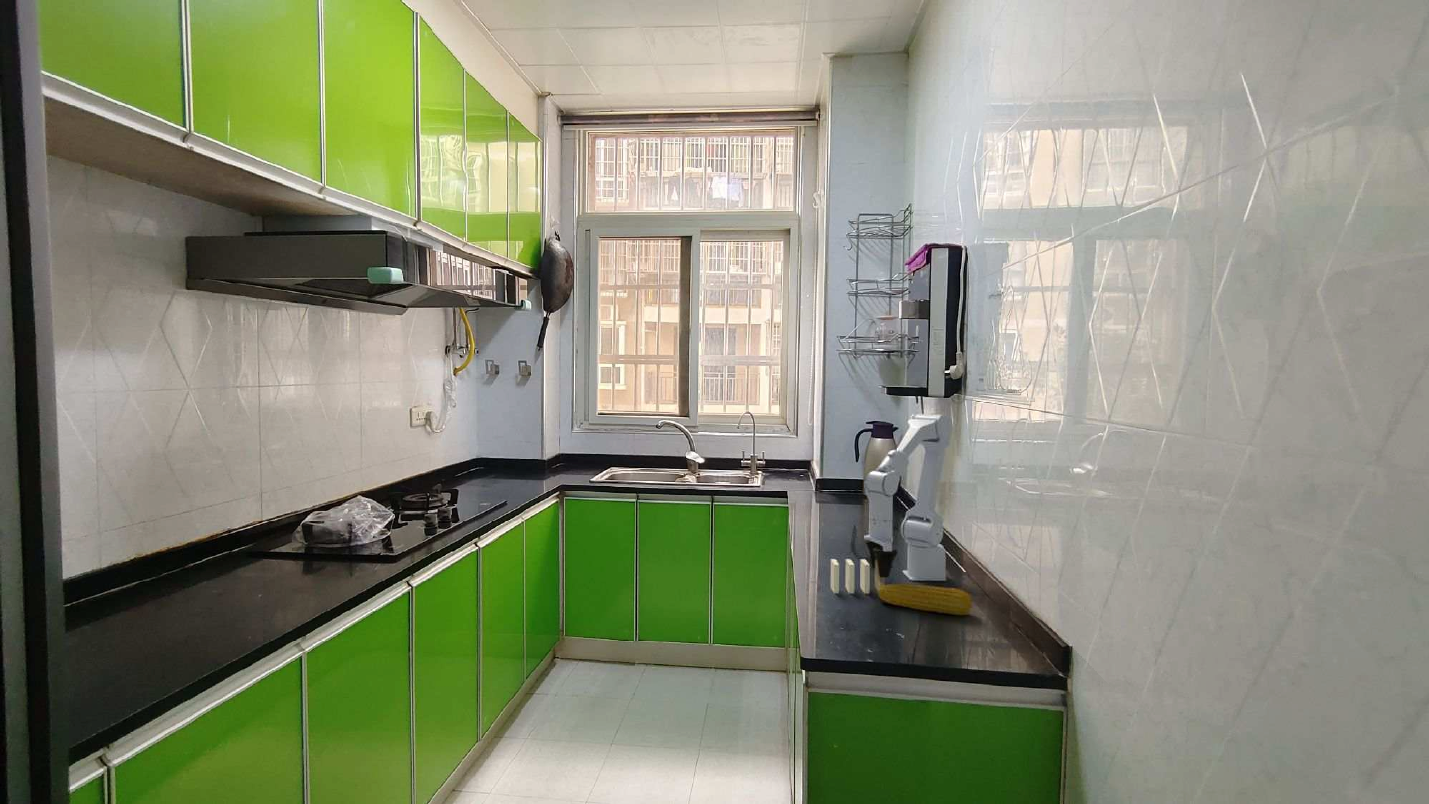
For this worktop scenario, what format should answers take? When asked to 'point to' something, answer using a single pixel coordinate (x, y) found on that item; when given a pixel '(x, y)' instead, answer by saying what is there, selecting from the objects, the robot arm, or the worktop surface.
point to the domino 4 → (878, 578)
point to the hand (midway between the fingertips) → (880, 572)
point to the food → (927, 598)
